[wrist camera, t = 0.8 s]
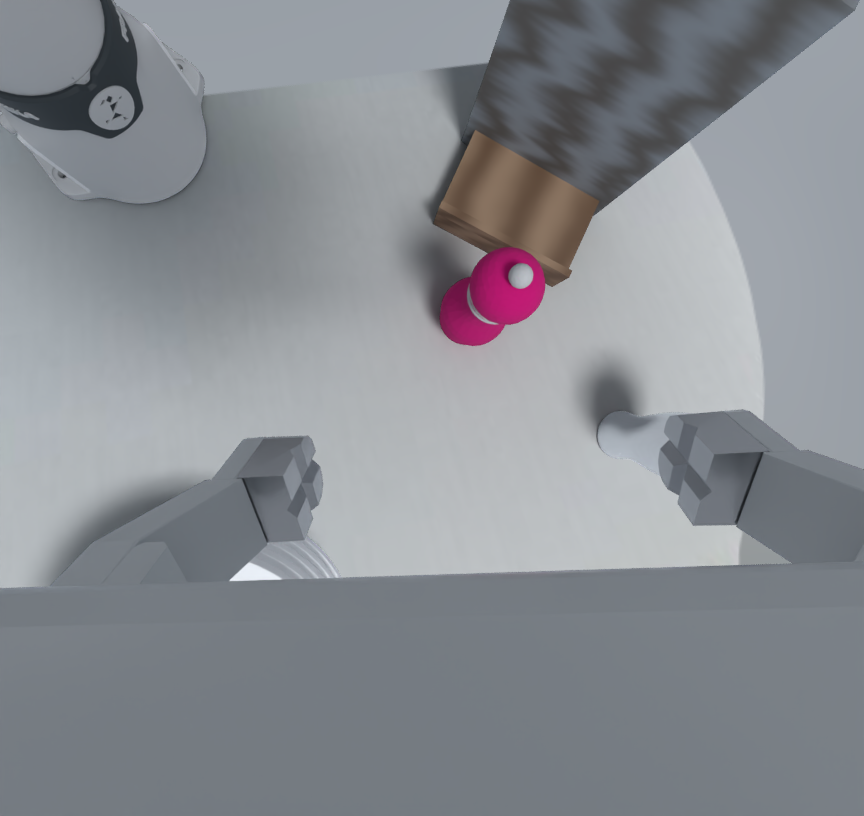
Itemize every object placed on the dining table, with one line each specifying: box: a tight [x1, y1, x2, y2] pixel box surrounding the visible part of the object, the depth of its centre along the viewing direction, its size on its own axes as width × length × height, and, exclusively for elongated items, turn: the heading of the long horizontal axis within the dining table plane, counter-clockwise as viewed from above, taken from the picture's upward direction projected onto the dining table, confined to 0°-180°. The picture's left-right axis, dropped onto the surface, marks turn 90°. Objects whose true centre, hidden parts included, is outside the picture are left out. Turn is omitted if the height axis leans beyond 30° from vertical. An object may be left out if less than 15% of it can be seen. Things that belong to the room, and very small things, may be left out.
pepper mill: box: [440, 247, 545, 346], centre depth 39 cm, size 7×7×20 cm
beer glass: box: [597, 411, 693, 476], centre depth 45 cm, size 7×7×15 cm
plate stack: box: [229, 536, 342, 581], centre depth 42 cm, size 28×28×12 cm
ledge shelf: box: [433, 0, 859, 287], centre depth 36 cm, size 18×11×28 cm, turn 65°
